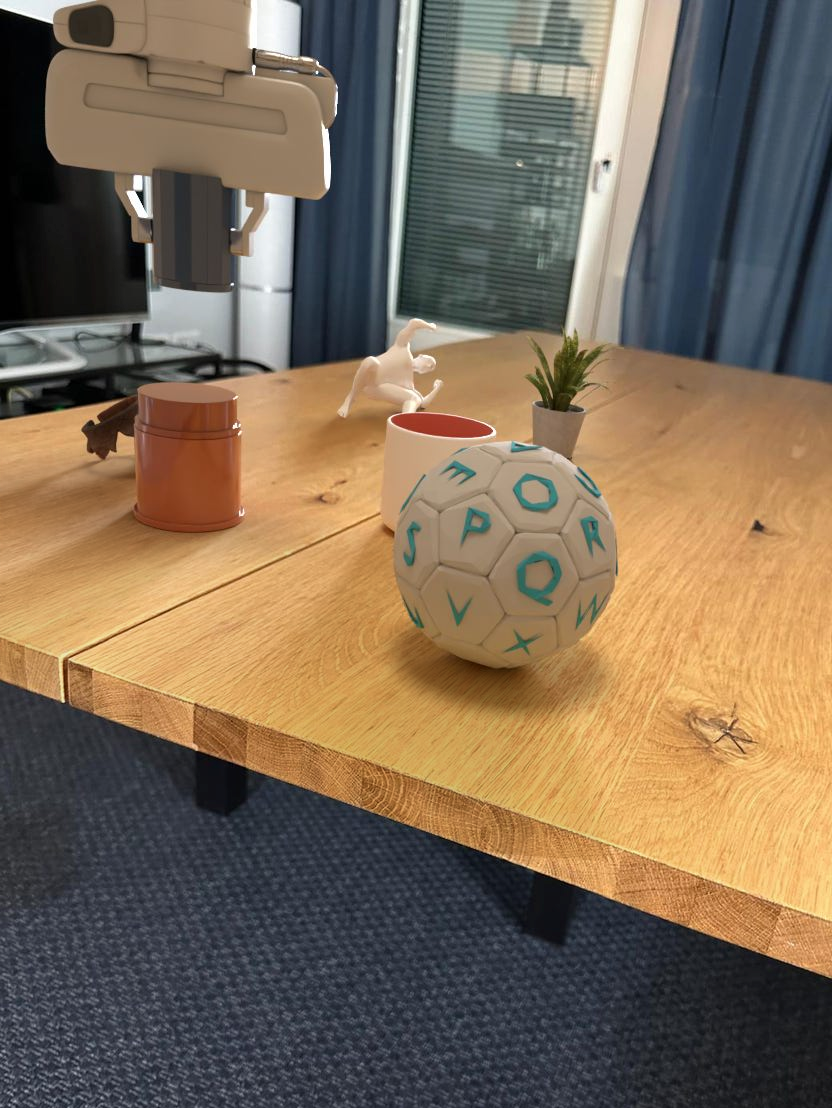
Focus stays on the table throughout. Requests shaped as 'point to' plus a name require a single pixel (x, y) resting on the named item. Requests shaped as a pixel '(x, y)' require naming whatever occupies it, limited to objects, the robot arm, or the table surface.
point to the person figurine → (395, 374)
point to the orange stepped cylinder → (187, 457)
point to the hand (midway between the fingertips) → (193, 249)
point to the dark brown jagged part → (111, 427)
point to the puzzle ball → (505, 554)
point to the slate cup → (192, 232)
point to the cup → (421, 452)
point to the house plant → (562, 395)
